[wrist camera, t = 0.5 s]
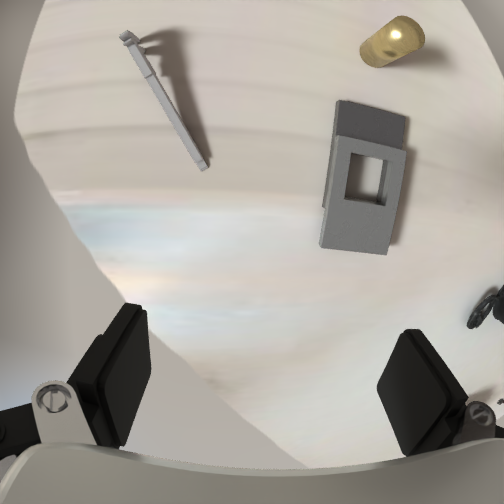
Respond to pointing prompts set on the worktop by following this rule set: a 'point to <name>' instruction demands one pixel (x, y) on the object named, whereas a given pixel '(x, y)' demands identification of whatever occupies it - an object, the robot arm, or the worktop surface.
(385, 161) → the grey socket block
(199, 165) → the caliper
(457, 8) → the worktop surface
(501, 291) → the milk frother
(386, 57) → the pin
